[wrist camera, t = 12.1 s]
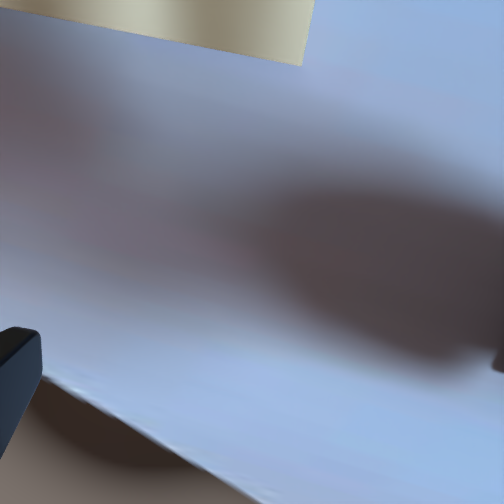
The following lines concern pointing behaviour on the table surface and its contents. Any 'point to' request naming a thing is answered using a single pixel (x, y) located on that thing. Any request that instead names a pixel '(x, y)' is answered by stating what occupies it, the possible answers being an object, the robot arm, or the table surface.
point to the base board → (195, 22)
